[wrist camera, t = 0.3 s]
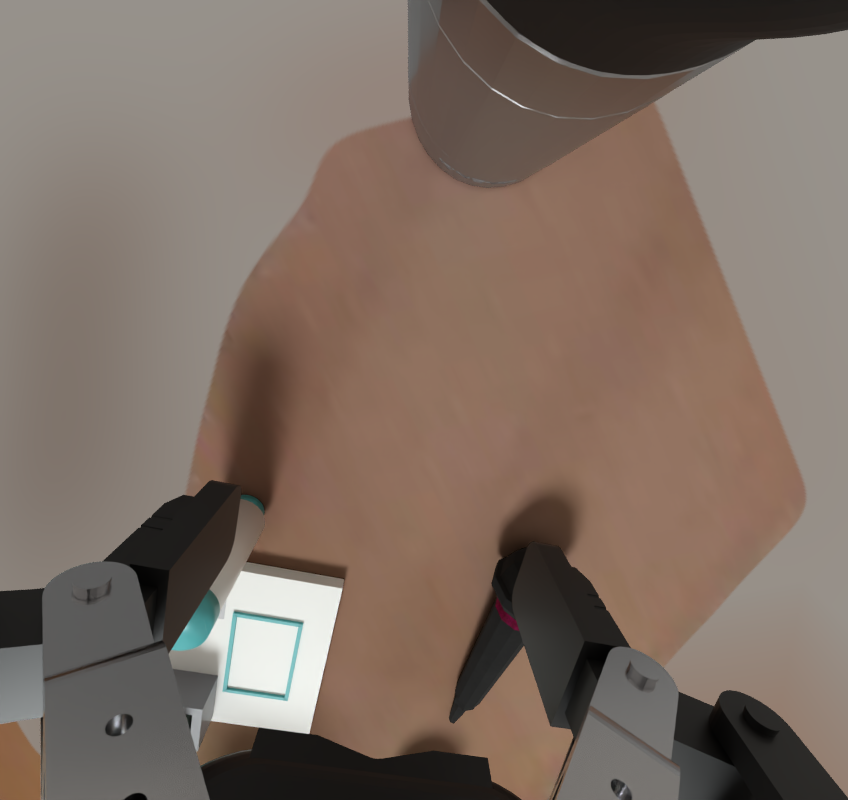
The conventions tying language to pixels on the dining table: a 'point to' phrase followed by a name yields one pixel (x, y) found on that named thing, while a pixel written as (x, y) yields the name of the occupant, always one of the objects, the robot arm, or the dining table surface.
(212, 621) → the marker
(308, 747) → the robot arm
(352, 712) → the dining table surface
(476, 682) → the microphone
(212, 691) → the button housing
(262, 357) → the dining table surface
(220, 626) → the white flat rectangular panel
